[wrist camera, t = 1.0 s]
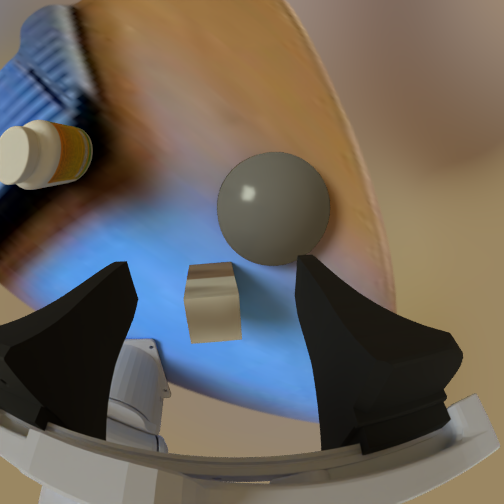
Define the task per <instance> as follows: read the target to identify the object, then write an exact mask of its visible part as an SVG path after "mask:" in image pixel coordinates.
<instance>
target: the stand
mask: <svg viewBox="0 0 504 504" xmlns="http://www.w3.org/2000/svg"><path fill="white" fill-rule="evenodd" d="M217 215H218V221H219V225H220V229H221V231H222V234H223V236H224V238H225V239H226V241H227V243H228V244H229V245H230V246H231V248H232V249H233V250H234V251H235V252H236V253H238V254H239V255H240V256H242V257H243V258H245V259H247V260H249V261H251V262H254V263H256V264H261V265H268V266H278V265H284V264H288V263H291V262H293V261H296V260H297V257H298V255H306V254H307V253H309V252H310V251H311V250H312V249H313V248H314V247H315V246H316V244H317V243H318V242H319V241H320V239H321V237H322V236H323V234H324V232H325V230H326V227H327V224H328V220H329V216H330V199H329V194H328V191H327V187H326V185H325V183H324V181H323V179H322V177H321V176H320V174H319V173H318V172H317V171H316V169H315V168H313V167H312V166H311V165H310V164H309V163H308V162H306V161H305V160H303V159H301V158H299V157H297V156H294V155H292V154H288V153H283V152H268V153H263V154H259V155H255V156H252V157H250V158H247V159H246V160H244V161H242V162H241V163H239V164H238V165H237V166H235V167H234V168H233V169H232V170H231V171H230V173H229V174H228V175H227V176H226V178H225V180H224V181H223V183H222V186H221V188H220V191H219V194H218V200H217Z"/></svg>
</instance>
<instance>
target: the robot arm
mask: <svg viewBox="0 0 504 504" xmlns="http://www.w3.org/2000/svg"><path fill="white" fill-rule="evenodd" d="M295 301H296V307H297V314H298V318H299V322H300V325H301V329H302V332H303V335H304V339H305V342H306V346H307V349H308V353H309V356H310V360H311V364H312V369H313V375H314V381H315V388H316V396H317V404H318V413H319V423H320V435H321V451H318V452H311V453H303V454H295V455H284V456H271V457H249V458H248V457H247V458H228V457H227V458H226V457H203V456H190V455H180V454H171V453H168V448H167V445H166V443H165V441H164V439H163V437H161V436H159V435H158V434H159V432H160V425H161V416H162V406H163V398H169V397H171V392H170V389H169V386H168V383H167V380H166V377H165V374H164V370H163V367H162V364H161V360H160V357H159V353H158V350H157V346H156V343H155V341H154V340H153V339H125V338H126V336H127V333H128V331H129V328H130V326H131V323H132V321H133V318H134V314H135V311H136V307H137V302H138V297H137V294H136V291H135V287H134V284H133V281H132V278H131V274H130V271H129V267H128V264H127V261H124V262H114V263H112V264H110V265H108V266H106V267H105V268H103V269H102V270H100V271H99V272H97V273H96V274H94V275H93V276H92V277H90V278H89V279H87V280H86V281H84V282H83V283H82V284H80V285H79V286H77V287H76V288H74V289H73V290H71V291H70V292H68V293H67V294H65V295H64V296H62V297H61V298H59V299H57V300H56V301H54V302H52V303H51V304H49V305H47V306H45V307H43V308H42V309H39V310H37V311H35V312H33V313H31V314H29V315H27V316H25V317H22V318H20V319H18V320H15V321H12V322H9V323H7V324H4V325H0V456H1V457H3V458H4V459H6V460H7V461H8V462H10V463H11V464H13V465H14V466H16V467H17V468H18V469H19V470H20V472H21V473H23V474H24V475H26V476H28V477H29V478H31V479H32V480H34V481H36V482H38V483H40V484H41V485H42V489H41V494H40V499H39V504H401V503H404V502H406V501H409V500H411V499H413V498H416V497H418V496H420V495H422V494H425V493H426V492H428V491H431V490H433V489H435V488H437V487H439V486H440V485H442V484H444V483H446V482H448V481H450V480H451V479H453V478H455V477H457V476H458V475H460V474H462V473H463V472H465V471H467V470H468V469H470V468H471V467H473V466H475V465H476V464H478V463H479V462H480V461H482V460H483V459H485V458H486V457H488V456H489V455H491V454H492V453H493V452H495V451H496V450H497V449H499V447H500V444H499V441H498V439H497V436H496V434H495V431H494V429H493V427H492V425H491V422H490V420H489V418H488V416H487V414H486V412H485V410H484V407H483V406H482V403H481V401H480V399H479V397H478V396H477V394H472V395H470V396H468V397H466V398H464V399H462V400H460V401H458V402H456V403H454V404H452V405H451V406H449V407H448V408H447V409H446V407H445V404H444V401H445V400H446V399H447V395H446V394H445V391H444V388H445V387H446V386H447V384H448V383H449V382H450V380H451V379H452V378H453V376H454V375H455V374H456V372H457V371H458V369H459V367H460V365H461V362H462V359H463V353H462V351H461V349H460V348H459V346H458V344H457V343H456V341H455V340H454V338H453V337H452V335H451V334H450V333H449V332H445V331H442V330H438V329H434V328H431V327H427V326H424V325H422V324H419V323H416V322H413V321H411V320H409V319H406V318H404V317H402V316H399V315H397V314H395V313H393V312H391V311H389V310H387V309H385V308H383V307H381V306H380V305H378V304H376V303H374V302H373V301H371V300H370V299H368V298H366V297H365V296H363V295H362V294H360V293H359V292H357V291H356V290H355V289H353V288H352V287H350V286H349V285H348V284H346V283H345V282H344V281H343V280H341V279H340V278H339V277H338V276H337V275H335V274H334V273H333V272H332V271H331V270H329V269H328V268H327V267H326V266H325V265H324V264H323V263H321V262H320V261H319V260H318V259H317V258H316V257H315V256H313V255H298V257H297V272H296V286H295ZM150 346H153V347H150ZM165 389H166V390H165ZM222 481H224V482H222ZM255 481H270V484H254V483H253V484H252V483H234V482H255Z"/></svg>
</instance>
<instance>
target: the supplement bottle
mask: <svg viewBox="0 0 504 504" xmlns="http://www.w3.org/2000/svg"><path fill="white" fill-rule="evenodd" d="M92 154H93V148H92V142H91V139H90V137H89V136H88V134H87V133H86V132H85V131H83V130H82V129H80V128H76V127H72V126H67V125H63V124H58V123H53V122H49V121H44V120H34V121H31V122H29V123H27V124H26V125H24V126H23V127H22V126H14V127H11V128H9V129H8V130H6V131H5V132H4V133H3V135H2V136H1V137H0V181H1V182H2V183H4V184H6V185H11V184H17V185H18V186H19V187H21V188H23V189H27V190H32V189H39V188H44V187H48V186H54V185H59V184H65V183H69V182H73V181H76V180H77V179H79V178H80V177H81V176H83V174H84V173H85V172H86V171H87V169H88V167H89V165H90V163H91V160H92Z"/></svg>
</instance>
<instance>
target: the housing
mask: <svg viewBox="0 0 504 504" xmlns="http://www.w3.org/2000/svg"><path fill="white" fill-rule="evenodd" d="M184 305H185V311H186V317H187V323H188V328H189V334H190V339H191V344H193V343H207V342H219V341H230V340H240V339H242V333H241V318H240V303H239V293H238V289H237V284H236V280H235V276H234V272H233V268H232V263H231V262H221V263H209V264H197V265H189V270H188V276H187V281H186V287H185V293H184Z"/></svg>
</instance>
